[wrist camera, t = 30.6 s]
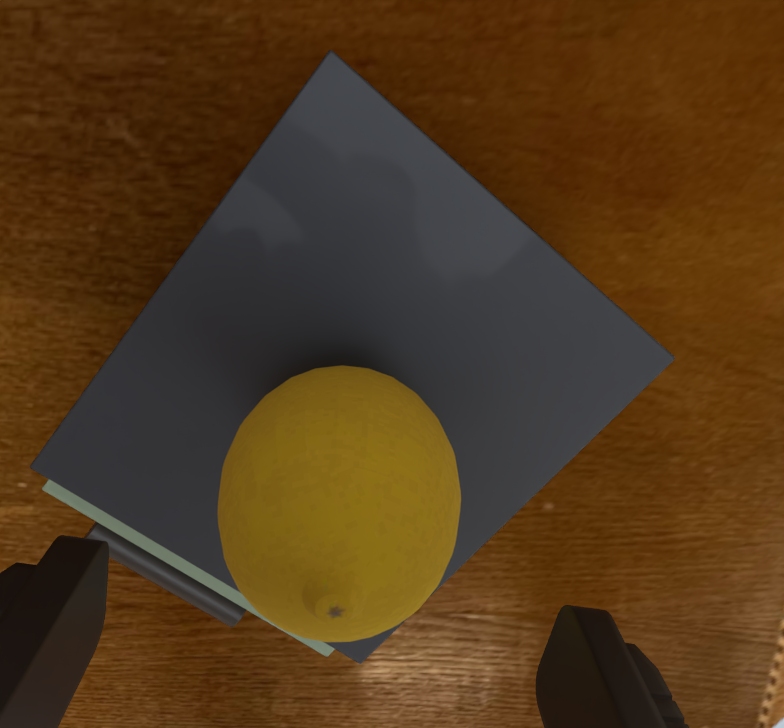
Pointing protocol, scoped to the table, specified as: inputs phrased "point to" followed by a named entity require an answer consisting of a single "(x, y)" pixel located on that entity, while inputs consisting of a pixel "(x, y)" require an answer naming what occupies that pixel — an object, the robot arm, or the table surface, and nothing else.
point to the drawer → (167, 567)
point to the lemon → (339, 504)
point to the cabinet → (352, 329)
